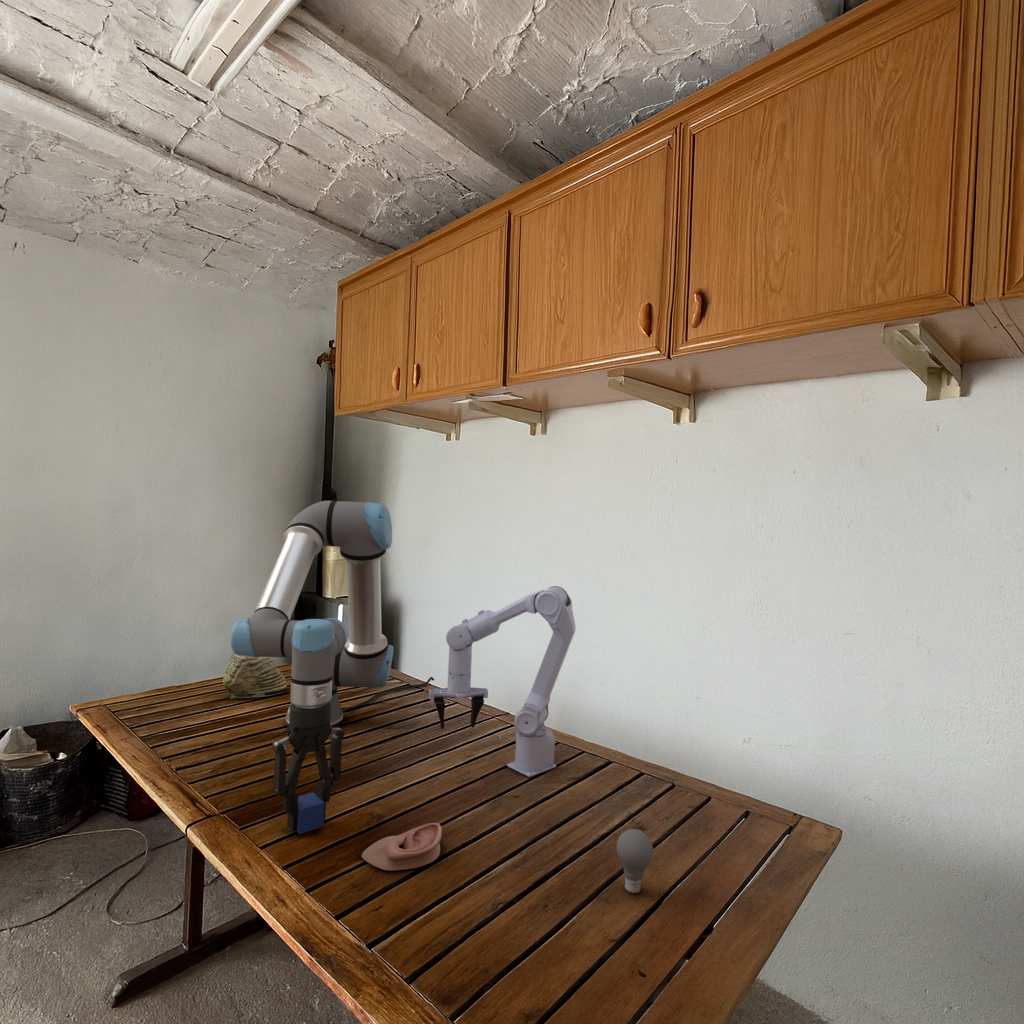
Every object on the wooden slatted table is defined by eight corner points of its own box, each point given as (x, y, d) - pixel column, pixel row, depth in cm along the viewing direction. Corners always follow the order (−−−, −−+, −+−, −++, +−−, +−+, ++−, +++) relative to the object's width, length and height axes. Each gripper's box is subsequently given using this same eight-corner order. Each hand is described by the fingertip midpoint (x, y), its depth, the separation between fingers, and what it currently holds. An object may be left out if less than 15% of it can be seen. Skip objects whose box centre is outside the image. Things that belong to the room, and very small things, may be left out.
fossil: (218, 695, 195) (220, 647, 195) (278, 685, 208) (279, 640, 207) (228, 703, 189) (230, 653, 188) (289, 692, 201) (290, 645, 201)
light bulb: (610, 879, 108) (613, 822, 108) (644, 879, 109) (647, 822, 109) (619, 902, 102) (622, 840, 102) (655, 901, 103) (658, 840, 103)
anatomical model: (354, 842, 109) (381, 811, 120) (353, 865, 109) (380, 831, 121) (427, 854, 107) (448, 821, 118) (426, 877, 107) (447, 842, 118)
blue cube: (299, 834, 117) (300, 809, 117) (288, 823, 121) (289, 798, 121) (323, 826, 120) (324, 802, 120) (312, 815, 124) (313, 792, 124)
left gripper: (270, 717, 112) (266, 847, 112) (363, 699, 123) (358, 817, 124) (256, 705, 117) (251, 829, 118) (345, 689, 129) (341, 802, 129)
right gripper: (432, 677, 152) (429, 733, 152) (491, 676, 156) (488, 731, 156) (429, 669, 159) (426, 723, 159) (485, 668, 162) (483, 721, 163)
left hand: (306, 823), depth 121 cm, fingers closed on blue cube, 5 cm apart
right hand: (457, 726), depth 158 cm, fingers open, 7 cm apart
